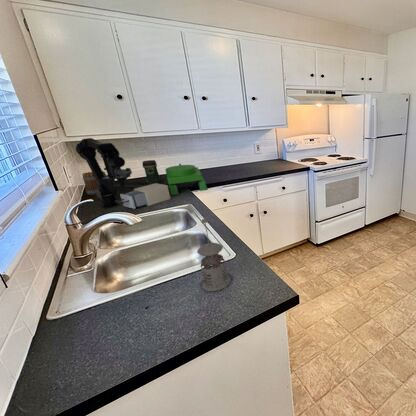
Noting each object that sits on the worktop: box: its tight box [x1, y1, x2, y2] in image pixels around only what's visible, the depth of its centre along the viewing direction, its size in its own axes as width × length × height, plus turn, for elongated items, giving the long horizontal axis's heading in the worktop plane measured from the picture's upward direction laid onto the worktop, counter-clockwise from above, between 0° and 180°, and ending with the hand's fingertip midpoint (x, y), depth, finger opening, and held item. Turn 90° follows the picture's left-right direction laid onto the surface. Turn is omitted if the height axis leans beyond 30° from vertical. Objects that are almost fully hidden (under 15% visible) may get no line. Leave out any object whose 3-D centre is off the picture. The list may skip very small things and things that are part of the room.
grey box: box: [133, 183, 171, 207], centre depth 177 cm, size 15×13×10 cm
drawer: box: [115, 190, 148, 210], centre depth 167 cm, size 18×11×8 cm, turn 152°
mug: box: [82, 170, 107, 196], centre depth 196 cm, size 16×11×15 cm
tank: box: [164, 163, 208, 196], centre depth 206 cm, size 24×35×16 cm
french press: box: [196, 218, 232, 292], centre depth 92 cm, size 10×12×25 cm
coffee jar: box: [141, 159, 162, 185], centre depth 217 cm, size 10×8×19 cm
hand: (119, 191), depth 159 cm, fingers open, 9 cm apart
